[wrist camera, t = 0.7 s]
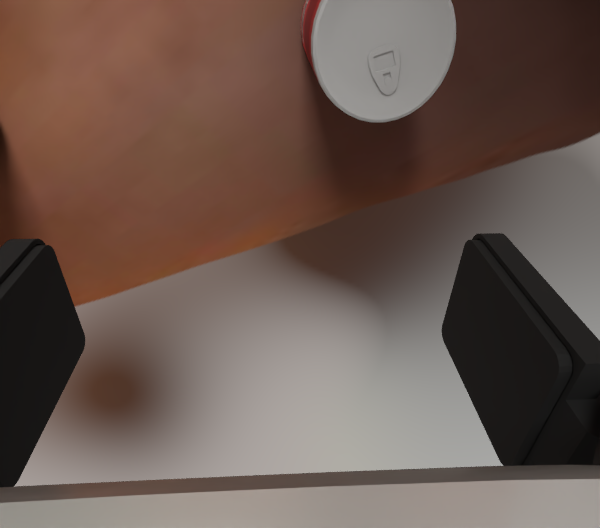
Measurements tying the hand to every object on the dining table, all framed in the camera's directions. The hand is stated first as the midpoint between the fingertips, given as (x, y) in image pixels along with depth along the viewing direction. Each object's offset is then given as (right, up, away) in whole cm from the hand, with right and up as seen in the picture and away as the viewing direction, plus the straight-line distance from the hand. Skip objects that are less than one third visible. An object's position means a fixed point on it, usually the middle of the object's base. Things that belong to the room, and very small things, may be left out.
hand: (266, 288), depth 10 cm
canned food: (+5, +18, +21) cm, 28 cm away
